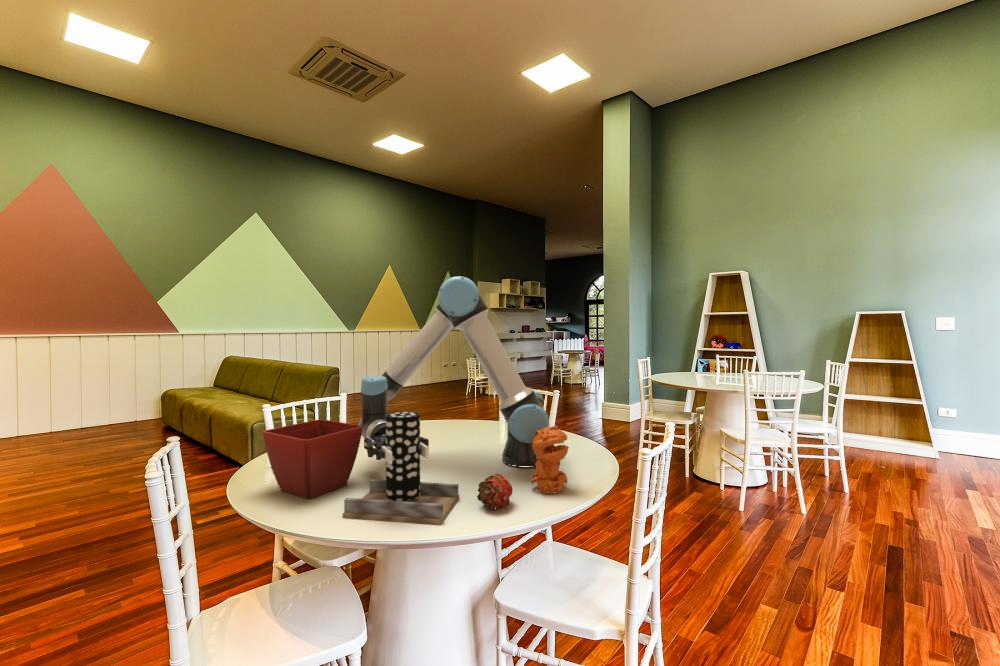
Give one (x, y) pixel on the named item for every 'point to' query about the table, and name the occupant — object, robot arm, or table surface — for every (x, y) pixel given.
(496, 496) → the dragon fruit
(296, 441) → the plant pot
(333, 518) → the table surface
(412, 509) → the track
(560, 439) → the toy dinosaur
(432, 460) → the table surface
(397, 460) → the spotted tube
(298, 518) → the table surface
